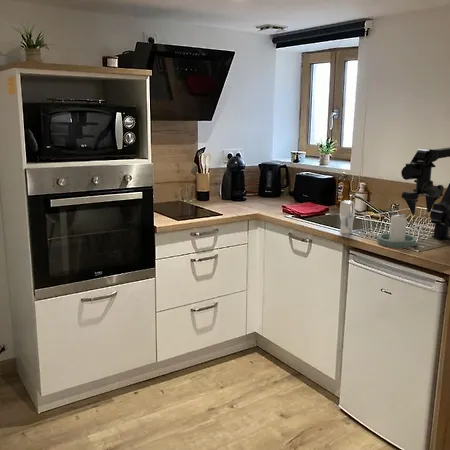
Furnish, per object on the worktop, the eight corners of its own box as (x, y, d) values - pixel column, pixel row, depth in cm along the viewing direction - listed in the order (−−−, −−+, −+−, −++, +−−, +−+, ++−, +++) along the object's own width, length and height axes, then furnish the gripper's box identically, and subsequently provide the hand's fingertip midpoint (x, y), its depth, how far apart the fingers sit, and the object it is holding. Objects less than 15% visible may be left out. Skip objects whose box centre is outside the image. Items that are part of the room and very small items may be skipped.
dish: (397, 236, 233) (397, 231, 233) (424, 245, 219) (424, 239, 218) (369, 240, 227) (370, 235, 226) (396, 249, 212) (396, 244, 212)
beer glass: (340, 230, 246) (341, 200, 242) (354, 231, 243) (356, 201, 240) (337, 233, 240) (338, 202, 236) (352, 234, 237) (354, 203, 234)
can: (395, 238, 227) (397, 212, 224) (407, 241, 222) (409, 215, 219) (386, 241, 223) (388, 214, 220) (398, 244, 218) (401, 217, 215)
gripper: (421, 182, 206) (418, 219, 210) (454, 178, 214) (451, 214, 218) (401, 178, 216) (399, 214, 220) (433, 175, 224) (431, 209, 228)
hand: (420, 213), depth 221 cm, fingers open, 9 cm apart
